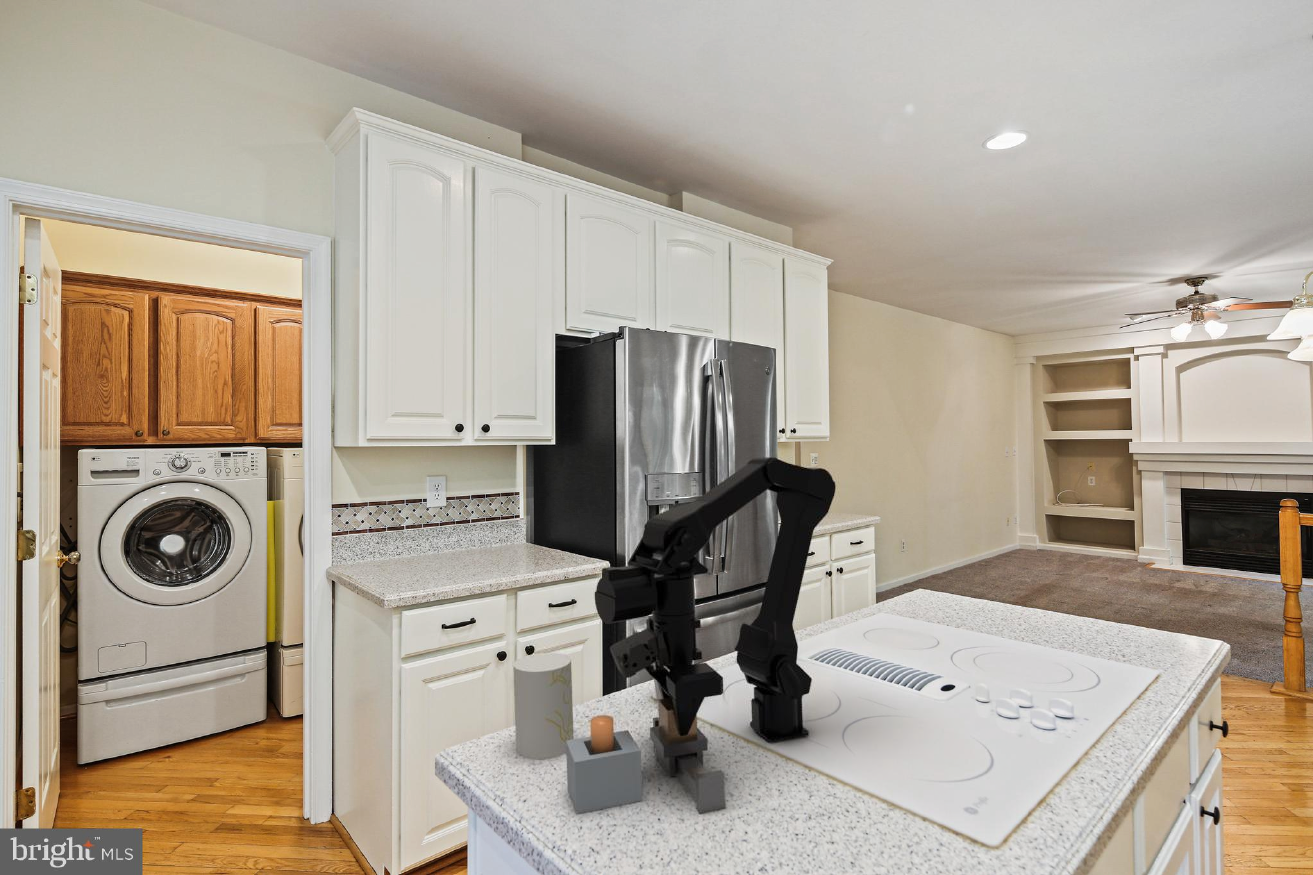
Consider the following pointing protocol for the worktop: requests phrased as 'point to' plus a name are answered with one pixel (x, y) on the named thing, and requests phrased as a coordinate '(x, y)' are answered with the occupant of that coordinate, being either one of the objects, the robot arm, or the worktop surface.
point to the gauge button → (602, 734)
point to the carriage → (675, 738)
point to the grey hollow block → (603, 773)
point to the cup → (543, 705)
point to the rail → (700, 781)
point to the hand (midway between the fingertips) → (678, 728)
